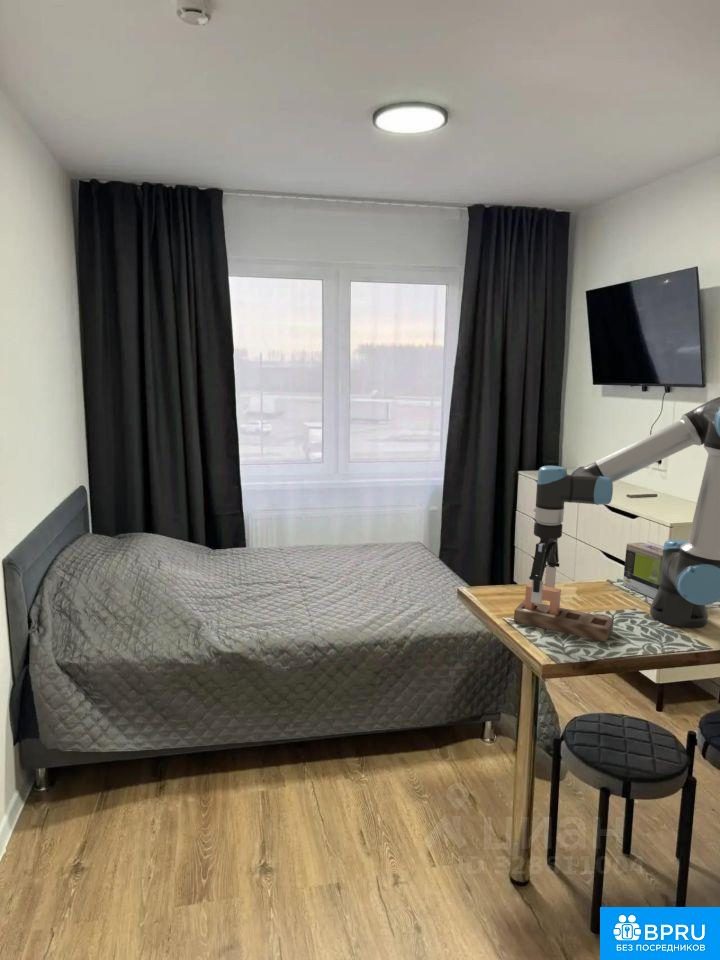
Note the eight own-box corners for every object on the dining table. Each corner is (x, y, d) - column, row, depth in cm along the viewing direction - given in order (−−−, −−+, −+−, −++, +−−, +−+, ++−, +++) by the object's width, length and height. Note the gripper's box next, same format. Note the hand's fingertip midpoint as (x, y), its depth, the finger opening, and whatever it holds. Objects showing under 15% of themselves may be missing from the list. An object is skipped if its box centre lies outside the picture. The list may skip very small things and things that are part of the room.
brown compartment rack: (612, 630, 182) (613, 617, 182) (606, 642, 175) (607, 628, 174) (523, 611, 195) (524, 599, 194) (513, 621, 187) (514, 609, 186)
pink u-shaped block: (558, 623, 187) (560, 589, 185) (555, 626, 184) (558, 592, 182) (526, 616, 191) (529, 583, 189) (523, 619, 189) (526, 586, 187)
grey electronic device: (680, 597, 209) (686, 552, 207) (656, 601, 206) (661, 555, 203) (644, 582, 223) (649, 540, 220) (621, 585, 219) (625, 542, 217)
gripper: (547, 511, 195) (542, 580, 199) (521, 529, 174) (516, 606, 178) (573, 515, 191) (567, 585, 195) (550, 533, 170) (544, 612, 174)
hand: (543, 595), depth 186 cm, fingers open, 13 cm apart
